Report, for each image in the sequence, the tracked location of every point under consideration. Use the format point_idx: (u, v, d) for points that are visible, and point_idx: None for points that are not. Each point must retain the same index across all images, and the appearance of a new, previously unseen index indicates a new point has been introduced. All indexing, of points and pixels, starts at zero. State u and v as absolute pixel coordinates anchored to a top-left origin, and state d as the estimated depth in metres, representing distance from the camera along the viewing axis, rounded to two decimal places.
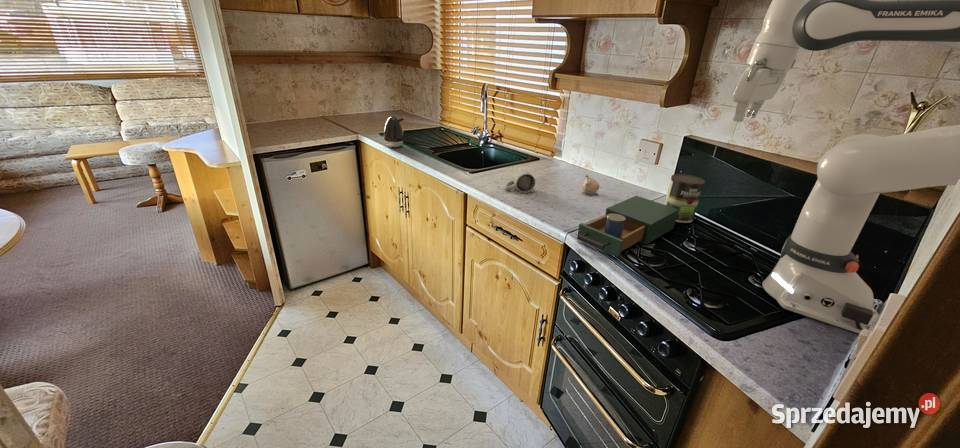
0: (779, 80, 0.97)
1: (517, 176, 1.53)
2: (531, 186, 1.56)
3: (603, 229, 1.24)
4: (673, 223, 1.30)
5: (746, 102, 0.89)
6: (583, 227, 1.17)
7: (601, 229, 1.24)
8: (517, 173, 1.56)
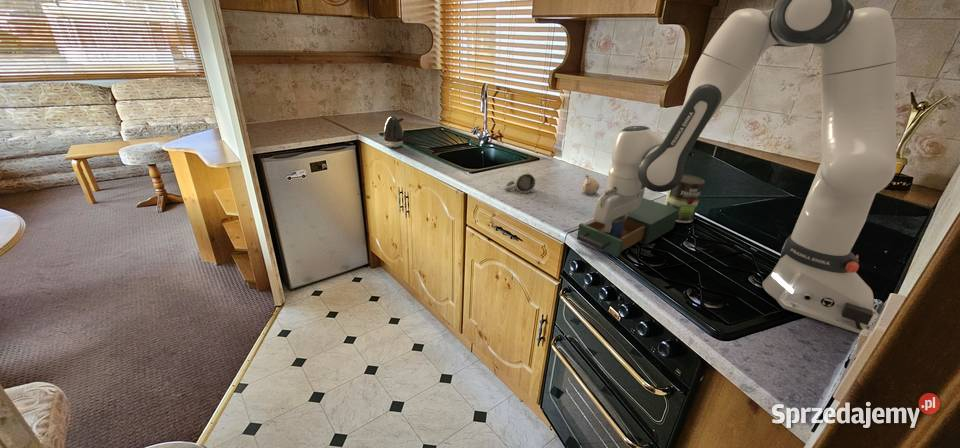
0: (639, 195, 1.18)
1: (517, 176, 1.53)
2: (531, 186, 1.56)
3: (603, 229, 1.24)
4: (673, 223, 1.30)
5: (603, 223, 1.10)
6: (583, 227, 1.17)
7: (601, 229, 1.24)
8: (517, 173, 1.56)
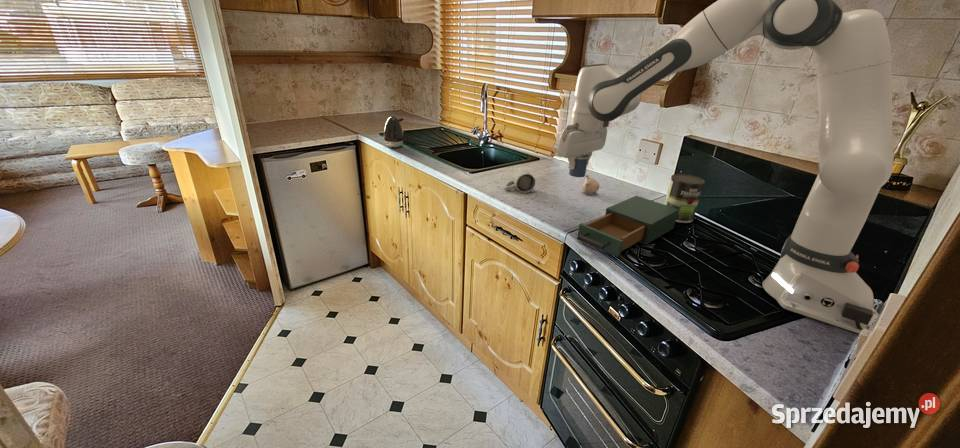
0: (602, 135, 1.25)
1: (517, 176, 1.53)
2: (531, 186, 1.56)
3: (603, 229, 1.24)
4: (673, 223, 1.30)
5: (565, 156, 1.16)
6: (583, 227, 1.17)
7: (601, 229, 1.24)
8: (517, 173, 1.56)
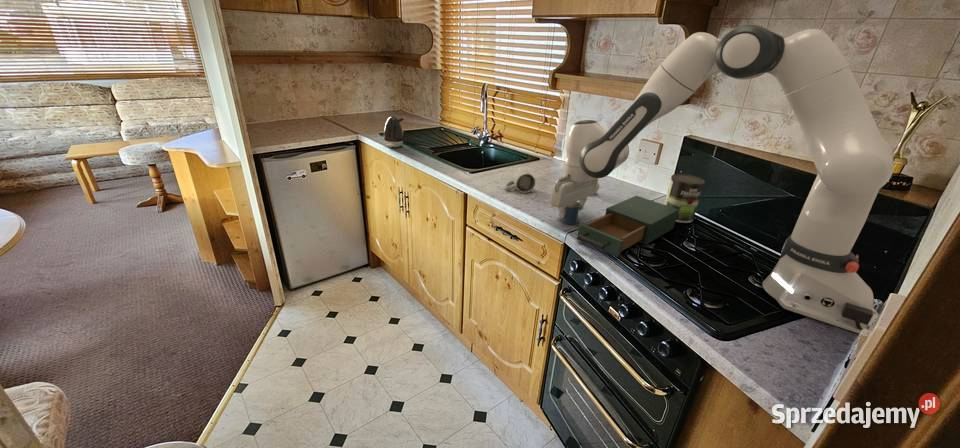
0: (593, 183, 1.32)
1: (517, 176, 1.53)
2: (531, 186, 1.56)
3: (603, 229, 1.24)
4: (673, 223, 1.30)
5: (558, 206, 1.23)
6: (583, 227, 1.17)
7: (601, 229, 1.24)
8: (517, 173, 1.56)
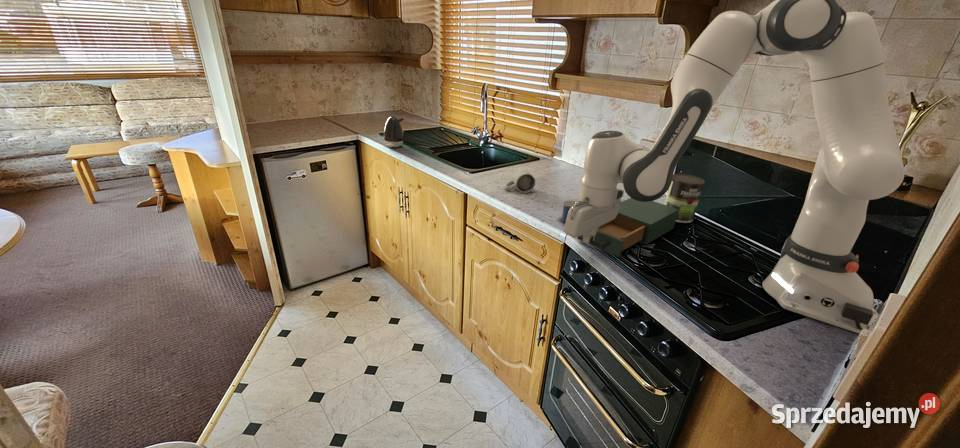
0: (615, 206, 1.10)
1: (517, 176, 1.53)
2: (531, 186, 1.56)
3: (603, 228, 1.24)
4: (673, 223, 1.30)
5: (574, 236, 1.01)
6: None
7: (601, 229, 1.24)
8: (517, 173, 1.56)
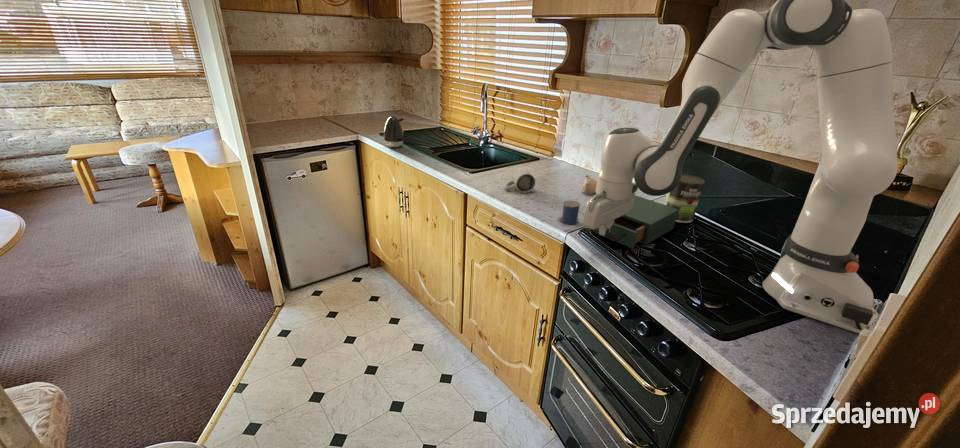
0: (630, 199, 1.15)
1: (517, 176, 1.53)
2: (531, 186, 1.56)
3: (617, 222, 1.29)
4: (673, 223, 1.30)
5: (592, 228, 1.06)
6: None
7: (615, 222, 1.29)
8: (517, 173, 1.56)
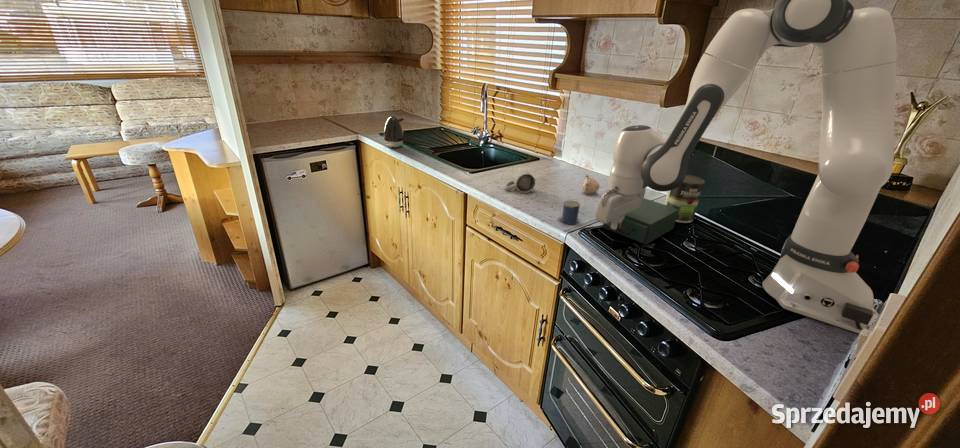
0: (640, 195, 1.18)
1: (517, 176, 1.53)
2: (531, 186, 1.56)
3: None
4: (673, 223, 1.30)
5: (605, 222, 1.10)
6: None
7: None
8: (517, 173, 1.56)
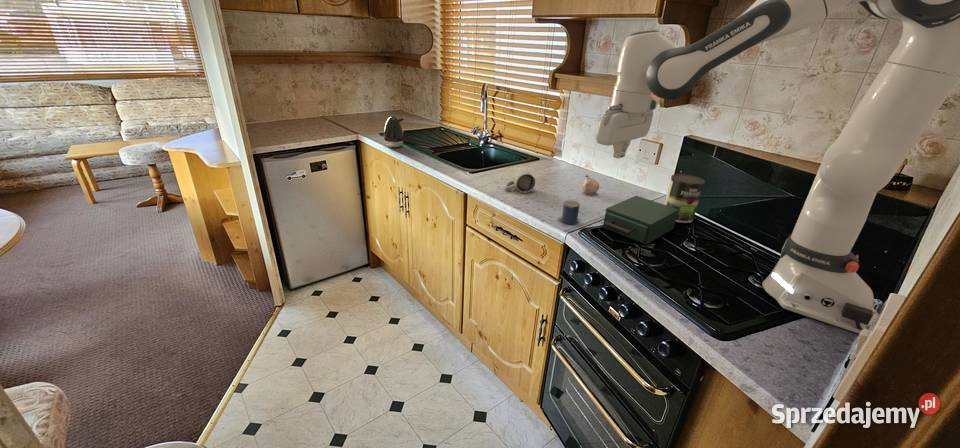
0: (647, 120, 1.05)
1: (517, 176, 1.53)
2: (531, 186, 1.56)
3: None
4: (673, 223, 1.30)
5: (607, 144, 0.97)
6: (609, 215, 1.25)
7: (624, 218, 1.32)
8: (517, 173, 1.56)
